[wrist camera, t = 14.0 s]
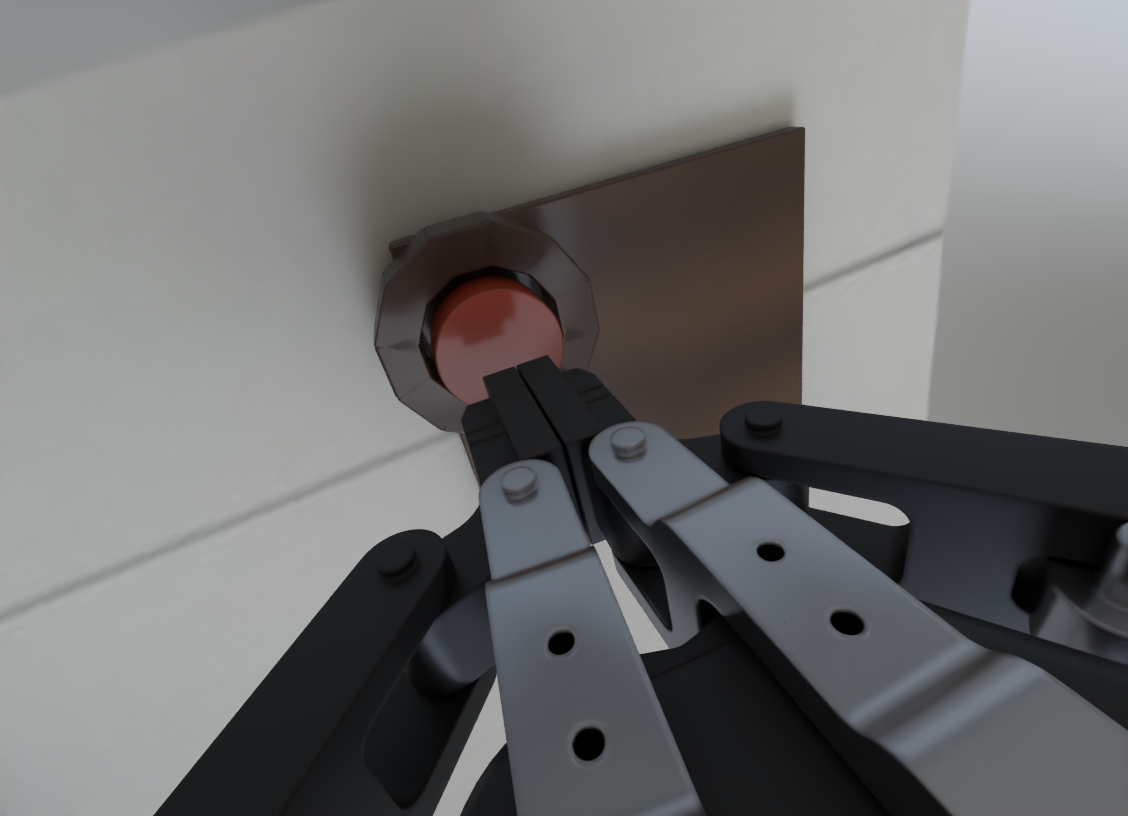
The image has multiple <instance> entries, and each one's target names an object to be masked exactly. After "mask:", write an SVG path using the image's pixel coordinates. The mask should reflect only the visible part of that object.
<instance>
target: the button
mask: <svg viewBox="0 0 1128 816" xmlns="http://www.w3.org/2000/svg"><path fill="white" fill-rule="evenodd" d="M430 337H431V346H432V351H433V355H434V359H435V363H436V366H437V370H438V373H439V375H440V378H441V380H442V382H443V383H444V385H445V386H446V388H447V389H448V390H449V391H450V392H451V393H452V394H453V395H454V396H455V397H456V398H457V399H459V400H460V401H462V402H463V403H465V404H467V405H470V404H473V403H476V402H479V401H482V400H485V399H488V398H489V397H488V394H487V391H486V388H485V385H484V382H483V378H482V377H484V376H487V375H490V374H492V373H495V372H498V371H501V370H504V369H507V368H510V367H513V366H514V367H515V369H516V365H519V364H522V363H525V362H527V361H530V360H533V359H536V358H539V357H542V356H545V355H548V356H549V357H550V358H551V360H552V361H553V362H554V364H555V365H556V366H557V367H558V369H559V367H560V365H561V361H562V357H563V349H564V346H563V335H562V331H561V328H560V325H559V323H558V321H557V318H556V317H555V315H554V314H553V312H552V311H551V310H550V309H549V308H548V306H547V305H546V304H545V303H544V302H543V301H542V300H541V299H540V298H539V297H538V296H537V295H536V294H535V293H534V292H533V291H532V290H531V289H530V288H528V287H527V286H526V285H524V284H522V283H521V282H519V281H516V280H514V279H511V278H508V277H503V276H482V277H477V278H474V279H471V280H468V281H466V282H464V283H462V284H460V285H459V286H457V287H456V288H454V289H453V290H452V291H451V292H450V293H449V294H448V295H447V296H446V297H445V298H444V299H443V300H442V302H441V303H440V305H439V306H438V308H437V310H436V312H435V315H434V317H433V321H432V324H431V332H430Z"/></svg>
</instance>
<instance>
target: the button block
mask: <svg viewBox="0 0 1128 816" xmlns="http://www.w3.org/2000/svg"><path fill="white" fill-rule="evenodd" d="M804 168H805V128H804V127H790V128H786V129H783V130H779V131H776V132H772V133H769V134H765V135H762V136H758V137H755V138H751V139H748V140H744V141H741V142H737V143H734V144H730V145H727V146H723V147H720V148H716V149H713V150H709V151H706V152H703V153H699V154H696V155H692V156H689V157H685V158H682V159H678V160H675V161H671V162H668V163H664V164H661V165H657V166H654V167H650V168H647V169H643V170H640V171H636V172H633V173H629V174H626V175H622V176H619V177H615V178H612V179H608V180H605V181H601V182H598V183H594V184H591V185H587V186H584V187H581V188H577V189H574V190H570V191H567V192H563V193H560V194H556V195H553V196H549V197H546V198H542V199H539V200H535V201H532V202H528V203H525V204H521V205H518V206H514V207H511V208H507V209H504V210H500V211H497V212H493V213H490V214H489V213H486V212H476V213H473V214H469V215H466V216H462V217H459V218H455V219H452V220H448V221H445V222H441V223H438V224H434V225H431V226H427V227H425V228H424V229H422V230H421V231H420V232H419V233H418V234H417V235H413V236H410V237H406V238H403V239H399V240H396V241H392V242H390V243H389V250H390V253H391V256H392V258H393V262H392V263H391V264H390V265H389V266H388V267H387V268H386V269H385V272H383V276H382V282H381V288H380V294H379V300H378V306H377V312H376V318H375V324H374V346H375V350H376V352H377V355H378V357H379V359H380V362H381V364H382V366H383V369H384V371H385V373H386V375H387V378H388V380H389V382H390V385H391V387H392V389H393V392H394V394H395V396H396V397H397V398H398V400H399V401H400V402H401V403H403V404H404V405H406V406H407V407H409V408H410V409H411V410H413V411H414V412H416V413H417V414H419V415H420V416H421V417H423V418H424V419H426V420H427V421H428V422H430V423H431V424H433V425H434V426H436V427H437V428H438V429H440V430H443V431H447V432H455V433H459V434H460V437H461V439H462V442H463V445H464V447H465V450H466V453H467V455H468V458H469V460H470V463H471V466H472V468H473V471H474V474H475V476H476V479H477V481H478V484H479V487H480V488H481V485H480V481H479V478H478V475H477V472H476V468H475V465H474V462H473V459H472V455H471V452H470V449H469V445H468V442H467V439H466V436H465V433H464V430H463V426H462V423H461V418H462V416H463V413H464V411H465V409H466V406H467V404H465V403H463V402H462V401H460V400H459V399H457V398H456V397H455V396H454V395H453V394H452V393H451V392H450V391H449V390H448V389H447V388H446V386H445V385H444V383H443V382H442V380H441V378H440V375H439V373H438V370H437V366H436V363H435V359H434V355H433V351H432V346H431V337H430V332H431V324H432V321H433V317H434V315H435V312H436V310H437V308H438V306H439V305H440V303H441V302H442V300H443V299H444V298H445V297H446V296H447V295H448V294H449V293H450V292H451V291H452V290H453V289H454V288H456V287H457V286H459V285H460V284H462V283H464V282H466V281H468V280H471V279H474V278H477V277H482V276H503V277H508V278H511V279H514V280H516V281H519V282H521V283H522V284H524V285H526V286H527V287H528V288H530V289H531V290H532V291H533V292H534V293H535V294H536V295H537V296H538V297H539V298H540V299H541V300H542V301H543V302H544V303H545V304H546V305H547V306H548V308H549V309H550V310H551V311H552V312H553V314H554V315H555V317H556V318H557V321H558V323H559V325H560V328H561V331H562V335H563V346H564V349H563V357H562V361H561V365H560V367H559V370H560V371H561V373H562V372H565V371H568V370H571V369H574V368H580V369H583V370H585V371H588V372H591V373H594V374H595V375H596V376H597V378H598V379H599V380H600V381H601V382H602V383H603V384H604V386H606V387H607V389H608V390H609V391H610V392H611V394H612V395H614V396H615V397H616V398H617V400H618V401H619V402H620V403H621V404H622V405H623V406H624V407H625V408H626V410H627V411H628V412H629V413H630V414H631V415H632V416H633V417H634V418H635V419H636V421H644V422H650V423H653V424H656V425H659V426H661V427H662V428H664V429H665V430H666V431H667V432H668V433H670V434H671V435H672V436H673V437H674V438H676V439H691V438H698V437H704V436H711V435H717V434H720V427H719V425H720V421H721V418H722V417H723V416H724V414H725V413H727V412H728V411H729V410H731V409H732V408H734V407H736V406H739V405H742V404H745V403H749V402H755V401H776V402H784V403H792V404H800V405H802V333H803V250H804ZM421 335H422V337H423V340H424V342H425V345H426V347H427V350H428V353H429V355H430V358H431V359H430V358H429V357H428V355H427V353H426V350H425V347H424V345H423V342H422V340H421ZM585 534H586V532H585ZM586 537H587V540H588V542H589V545H590V544H591V542H590V540H589V538H588V536H587V534H586Z"/></svg>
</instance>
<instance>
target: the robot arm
mask: <svg viewBox="0 0 1128 816" xmlns="http://www.w3.org/2000/svg"><path fill="white" fill-rule="evenodd" d="M482 378H483V382H484V385H485V388H486V391H487V394H488V397H489V398H488V399H485V400H482V401H479V402H476V403H473V404H470V405H467V406H466V409H465V411H464V413H463V416H462V418H461V423H462V426H463V430H464V433H465V436H466V439H467V442H468V445H469V449H470V452H471V455H472V459H473V462H474V465H475V468H476V472H477V475H478V478H479V481H480V485H481V488H480V491H479V506H478V508H477V510H476V511H475V512H474V514H473V515H472V516H471V517H470V518H469V519H468V520H467V521H466V522H465V523H464V524H463V525H461V526H460V527H459V528H457V529H456V530H454V531H453V532H451V533H450V534H448V535H447V536H445V537H444V538H442V539H441V537H440V536H439V535H437V534H436V533H434V532H432V531H429V530H424V529H415V530H408V531H404V532H400V533H397V534H395V535H393V536H390V537H388V538H386V539H385V540H383V541H381V542H380V543H378V544H377V545H376V546H374V547H373V548H372V549H371V550H369V551H368V552H367V553H366V554H365V556H364V557H363V558H362V559H361V560H360V561H359V563H358V564H357V565H356V566H355V567H354V569H353V570H352V571H351V572H350V574H349V575H348V576H347V577H346V579H345V580H344V581H343V582H342V584H341V585H340V586H339V587H338V588H337V590H336V591H335V592H334V593H333V595H332V596H331V597H330V598H329V600H328V601H327V602H326V603H325V604H324V606H323V607H322V608H321V609H320V611H319V612H318V613H317V614H316V616H315V617H314V618H313V619H312V621H311V622H310V623H309V624H308V625H307V627H306V628H305V629H304V630H303V632H302V633H301V634H300V635H299V637H298V638H297V639H296V640H295V642H294V643H293V644H292V645H291V646H290V648H289V649H288V650H287V651H286V653H285V654H284V655H283V656H282V658H281V659H280V660H279V661H278V662H277V664H276V665H275V666H274V667H273V669H272V670H271V671H270V672H269V674H268V675H267V676H266V677H265V679H264V680H263V681H262V682H261V683H260V685H259V686H258V687H257V688H256V690H255V691H254V692H253V693H252V695H251V696H250V697H249V698H248V699H247V701H246V702H245V703H244V704H243V706H242V707H241V708H240V709H239V711H238V712H237V713H236V714H235V716H234V717H233V718H232V719H231V720H230V722H229V723H228V724H227V725H226V727H225V728H224V729H223V730H222V732H221V733H220V734H219V735H218V737H217V738H216V739H215V740H214V741H213V743H212V744H211V745H210V746H209V748H208V749H207V750H206V751H205V753H204V754H203V755H202V756H201V757H200V759H199V760H198V761H197V762H196V764H195V765H194V766H193V767H192V769H191V770H190V771H189V772H188V774H187V775H186V776H185V777H184V778H183V780H182V781H181V782H180V783H179V785H178V786H177V787H176V788H175V790H174V791H173V792H172V793H171V795H170V796H169V797H168V798H167V799H166V801H165V802H164V803H163V804H162V806H161V807H160V808H159V809H158V811H157V812H156V813H155V814H154V815H153V816H433V814H434V812H435V810H436V807H437V805H438V803H439V801H440V799H441V796H442V794H443V792H444V790H445V788H446V786H447V783H448V781H449V779H450V777H451V775H452V773H453V770H454V768H455V766H456V764H457V762H458V760H459V757H460V755H461V753H462V751H463V749H464V747H465V744H466V742H467V740H468V738H469V736H470V734H471V731H472V729H473V727H474V725H475V723H476V721H477V718H478V716H479V714H480V712H481V710H482V708H483V705H484V703H485V701H486V699H487V697H488V694H489V692H490V690H491V688H492V686H493V684H494V681H495V678H496V674H497V677H498V684H499V691H500V698H501V705H502V712H503V719H504V726H505V733H506V740H507V743H506V744H505V745H504V746H503V747H502V748H501V750H500V751H499V752H498V753H497V755H496V756H495V757H494V758H493V759H492V761H491V762H490V763H489V765H488V766H487V768H486V769H485V771H484V772H483V774H482V775H481V777H480V778H479V780H478V781H477V783H476V785H475V787H474V789H473V791H472V792H471V794H470V796H469V798H468V800H467V802H466V804H465V806H464V808H463V810H462V813H461V815H460V816H1128V447H1123V446H1115V445H1107V444H1100V443H1092V442H1084V441H1077V440H1069V439H1061V438H1054V437H1046V436H1038V435H1030V434H1023V433H1015V432H1007V431H1000V430H991V429H984V428H976V427H969V426H961V425H954V424H946V423H938V422H930V421H923V420H915V419H907V418H900V417H892V416H884V415H877V414H869V413H861V412H853V411H846V410H838V409H830V408H823V407H815V406H807V405H800V404H792V403H784V402H776V401H755V402H749V403H745V404H742V405H739V406H736V407H734V408H732V409H731V410H729V411H728V412H727V413H725V414H724V416H723V417H722V418H721V421H720V425H719V427H720V434H717V435H711V436H704V437H698V438H691V439H676V438H674V437H673V436H672V435H671V434H670V433H668V432H667V431H666V430H665V429H664V428H662V427H661V426H659V425H656V424H653V423H650V422H644V421H636V419H635V418H634V417H633V416H632V415H631V414H630V413H629V412H628V411H627V410H626V408H625V407H624V406H623V405H622V404H621V403H620V402H619V401H618V400H617V398H616V397H615V396H614V395H612V394H611V392H610V391H609V390H608V389H607V387H606V386H604V384H603V383H602V382H601V381H600V380H599V379H598V378H597V376H596V375H595V374H594V373H591V372H588V371H585V370H583V369H580V368H574V369H571V370H568V371H565V372H562V373H561V371H560V370H559V369H558V367H557V366H556V365H555V364H554V362H553V361H552V360H551V358H550V357H549V356H548V355H545V356H542V357H539V358H536V359H533V360H530V361H527V362H525V363H522V364H519V365H516V369H515V367H514V366H513V367H510V368H507V369H504V370H501V371H498V372H495V373H492V374H490V375H487V376H484V377H482ZM809 487H812V488H817V489H821V490H826V491H831V492H836V493H841V494H845V495H850V496H855V497H860V498H864V499H869V500H874V501H879V502H883V503H887V504H890V505H892V506H895V507H896V508H898V509H900V510H901V511H902V512H903V513H904V514H905V515H906V516H907V517H908V519H909V521H910V523H908V524H906V525H902V526H888V525H884V524H879V523H875V522H871V521H866V520H862V519H858V518H853V517H849V516H844V515H840V514H836V513H831V512H827V511H823V510H818V509H814V508H810V507H809ZM585 532H586V534H587V536H588V538H589V540H590V542H591V544H592V545H593V544H595V543H598V542H600V541H603V540H605V539H606V540H607V542H608V544H609V546H610V547H611V549H612V553H613V558H614V562H615V566H616V570H617V572H618V574H619V575H620V577H621V578H622V580H623V581H624V583H625V584H626V585H627V587H628V588H629V590H630V591H631V593H632V594H633V596H634V597H635V599H636V600H637V602H638V603H639V604H640V606H641V607H642V609H643V610H644V612H645V613H646V615H647V616H648V618H649V619H650V621H651V622H652V624H653V625H654V626H655V628H656V629H657V631H658V632H659V634H660V635H661V637H662V638H663V640H664V641H665V643H666V644H667V646H668V647H669V649H667V650H661V651H656V652H650V653H645V654H639V652H638V650H637V648H636V645H635V643H634V640H633V638H632V635H631V633H630V631H629V628H628V626H627V623H626V621H625V618H624V616H623V614H622V611H621V609H620V606H619V604H618V601H617V599H616V597H615V594H614V592H613V589H612V587H611V585H610V582H609V580H608V577H607V575H606V572H605V570H604V568H603V565H602V563H601V560H600V558H599V556H598V553H597V551H596V549H595V547H594V546H590V545H589V542H588V540H587V537H586V534H585Z"/></svg>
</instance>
